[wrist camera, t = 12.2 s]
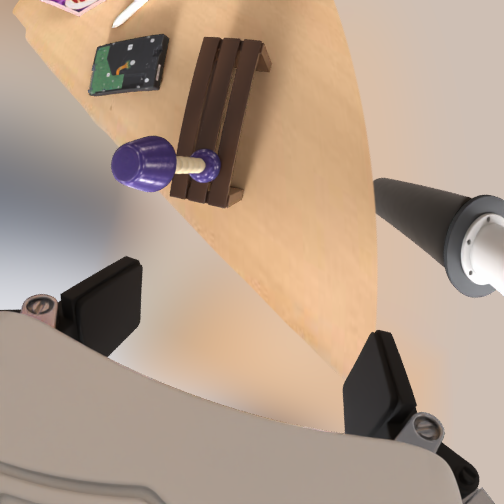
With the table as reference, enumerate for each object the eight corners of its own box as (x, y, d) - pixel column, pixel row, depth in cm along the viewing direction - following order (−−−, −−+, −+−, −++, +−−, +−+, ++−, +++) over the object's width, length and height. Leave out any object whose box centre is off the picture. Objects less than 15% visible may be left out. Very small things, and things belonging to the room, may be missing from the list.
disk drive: (171, 38, 37) (104, 50, 39) (164, 32, 34) (96, 46, 36) (161, 90, 40) (95, 97, 42) (153, 87, 37) (86, 96, 39)
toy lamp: (179, 164, 34) (92, 171, 19) (202, 136, 33) (124, 120, 17) (205, 189, 35) (130, 212, 19) (230, 161, 33) (167, 161, 17)
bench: (271, 63, 36) (263, 40, 28) (241, 199, 43) (226, 208, 35) (221, 58, 37) (202, 36, 28) (193, 189, 44) (168, 195, 36)
